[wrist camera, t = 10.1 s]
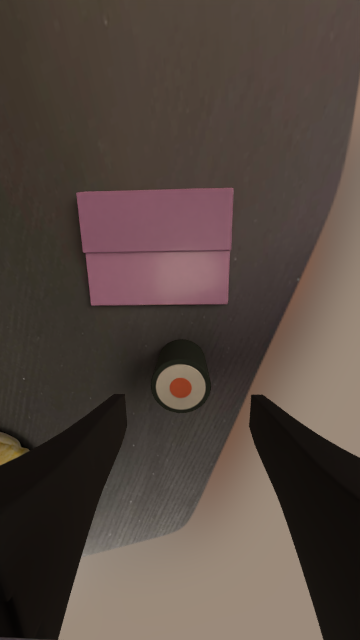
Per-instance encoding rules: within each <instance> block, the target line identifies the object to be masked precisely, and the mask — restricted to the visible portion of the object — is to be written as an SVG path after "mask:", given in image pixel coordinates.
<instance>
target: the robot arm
mask: <svg viewBox="0 0 360 640" xmlns="http://www.w3.org/2000/svg"><path fill="white" fill-rule="evenodd" d="M249 427H250V430H251V434H252V437H253V440H254V444H255V446H256V449H257V451H258V453H259V456H260V458H261V460H262V463H263V465H264V467H265V469H266V471H267V474H268V476H269V478H270V481H271V483H272V485H273V487H274V490H275V492H276V494H277V496H278V499H279V502H280V505H281V507H282V510H283V513H284V516H285V519H286V522H287V525H288V527H289V531H290V533H291V537H292V540H293V542H294V545H295V549H296V552H297V555H298V558H299V561H300V564H301V567H302V570H303V573H304V577H305V580H306V583H307V586H308V589H309V593H310V596H311V599H312V602H313V606H314V609H315V612H316V615H317V619H318V622H319V626H320V629H321V633H322V636H323V639H324V640H360V458H359V457H357V456H355V455H353V454H351V453H349V452H347V451H346V450H344V449H342V448H340V447H338V446H337V445H335V444H333V443H331V442H330V441H328V440H326V439H325V438H323V437H321V436H320V435H318V434H317V433H315V432H313V431H312V430H311V429H309V428H308V427H306V426H304V425H303V424H301V423H300V422H299V421H297V420H296V419H295V418H293V417H292V416H290V415H289V414H288V413H286V412H285V411H284V410H282V409H281V408H280V407H278V406H277V405H276V404H274V403H273V402H272V401H271V400H269V399H267V398H266V397H265V396H263V395H251V408H250V423H249ZM126 428H127V417H126V405H125V394H114V395H112V396H111V397H109V398H108V399H107V400H105V401H104V402H103V403H102V404H100V405H99V406H98V407H97V408H95V409H94V410H93V411H91V412H90V413H89V414H87V415H86V416H85V417H83V418H82V419H81V420H79V421H78V422H76V423H75V424H73V425H72V426H71V427H69V428H68V429H66V430H65V431H63V432H62V433H60V434H58V435H57V436H55V437H53V438H52V439H50V440H48V441H47V442H45V443H43V444H41V445H40V446H38V447H36V448H34V449H32V450H30V451H28V452H26V453H25V454H23V455H21V456H19V457H17V458H15V459H13V460H11V461H8V462H6V463H4V464H2V465H0V640H58V637H59V634H60V630H61V626H62V623H63V619H64V615H65V612H66V608H67V604H68V600H69V597H70V593H71V590H72V586H73V583H74V579H75V576H76V573H77V569H78V566H79V562H80V559H81V555H82V552H83V549H84V546H85V542H86V539H87V536H88V533H89V529H90V526H91V523H92V520H93V517H94V514H95V511H96V508H97V504H98V501H99V498H100V496H101V493H102V491H103V488H104V486H105V483H106V481H107V478H108V476H109V474H110V471H111V469H112V466H113V464H114V462H115V459H116V457H117V454H118V452H119V450H120V447H121V445H122V442H123V438H124V435H125V431H126Z"/></svg>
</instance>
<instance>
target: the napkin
mask: <svg viewBox="0 0 360 640" xmlns="http://www.w3.org/2000/svg"><path fill="white" fill-rule="evenodd" d="M76 195H77V204H78V212H79V221H80V230H81V239H82V248H83V253H86V262H87V271H88V280H89V289H90V298H91V305H194V304H228V288H229V262H230V250H231V239H232V214H233V188H206V189H169V190H132V191H95V192H79V193H76Z"/></svg>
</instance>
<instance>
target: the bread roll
mask: <svg viewBox="0 0 360 640" xmlns="http://www.w3.org/2000/svg"><path fill="white" fill-rule="evenodd" d="M28 451H30V450H29V449H27V448H22V447H21V445H20V442H19V441H18V440H17V439H16V438H14V437H12V436H10V435H8V434H6V433H2V432H0V465H2V464H4V463H6V462H8V461H11V460H13V459H15V458H17V457H19V456H21V455H23V454H25V453H26V452H28Z"/></svg>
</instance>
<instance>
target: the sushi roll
mask: <svg viewBox="0 0 360 640" xmlns="http://www.w3.org/2000/svg"><path fill="white" fill-rule="evenodd" d="M151 390H152V394H153V396H154V398H155V400H156V401H157V402H158V403H159V404H160V405H161V406H162V407H163V408H165V409H167V410H169V411H172V412H176V413H186V412H191V411H194V410H196V409H198V408H199V407H200V406H202V405H203V404H204V403H205V401H206V400H207V398H208V396H209V394H210V390H211V382H210V378H209V373H208V369H207V365H206V361H205V357H204V354H203V352H202V350H201V349H200V347H199V346H198V345H196V344H195V343H193V342H191V341H188V340H175V341H172V342H170V343H168V344H167V345H166V346H165V347H164V348H163V349H162V351H161V353H160V355H159V358H158V361H157V364H156V367H155V370H154V373H153V376H152V380H151Z"/></svg>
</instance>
